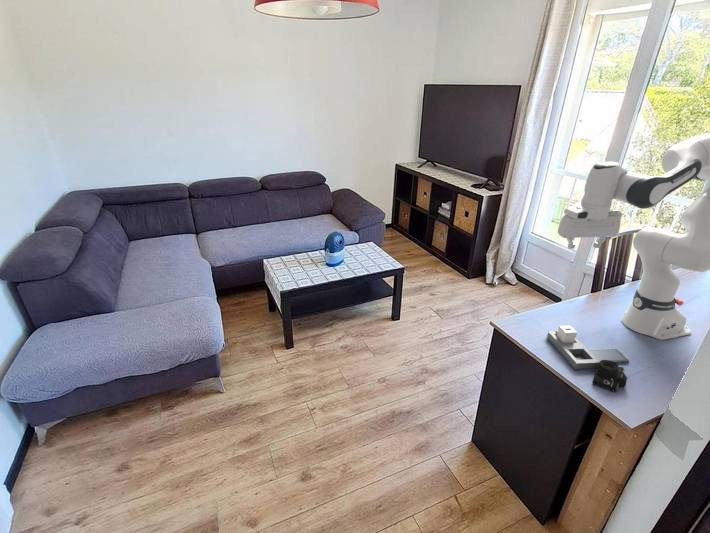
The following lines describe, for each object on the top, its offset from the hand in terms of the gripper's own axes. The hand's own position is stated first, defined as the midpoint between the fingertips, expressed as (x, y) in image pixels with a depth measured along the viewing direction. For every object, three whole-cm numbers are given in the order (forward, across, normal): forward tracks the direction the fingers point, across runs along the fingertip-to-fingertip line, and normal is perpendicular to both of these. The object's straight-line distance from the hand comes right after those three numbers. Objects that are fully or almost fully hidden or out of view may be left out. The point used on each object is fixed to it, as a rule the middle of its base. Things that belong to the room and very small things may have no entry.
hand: (583, 247), depth 131 cm
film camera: (+35, +1, +30) cm, 46 cm away
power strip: (+34, +6, +16) cm, 38 cm away
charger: (+34, +6, +11) cm, 36 cm away
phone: (+34, -4, +19) cm, 39 cm away
